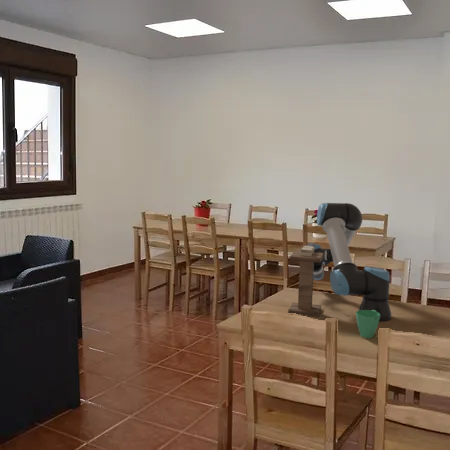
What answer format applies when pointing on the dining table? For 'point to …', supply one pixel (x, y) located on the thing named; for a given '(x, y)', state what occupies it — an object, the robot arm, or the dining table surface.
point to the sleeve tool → (308, 249)
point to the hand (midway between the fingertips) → (312, 252)
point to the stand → (306, 284)
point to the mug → (367, 322)
